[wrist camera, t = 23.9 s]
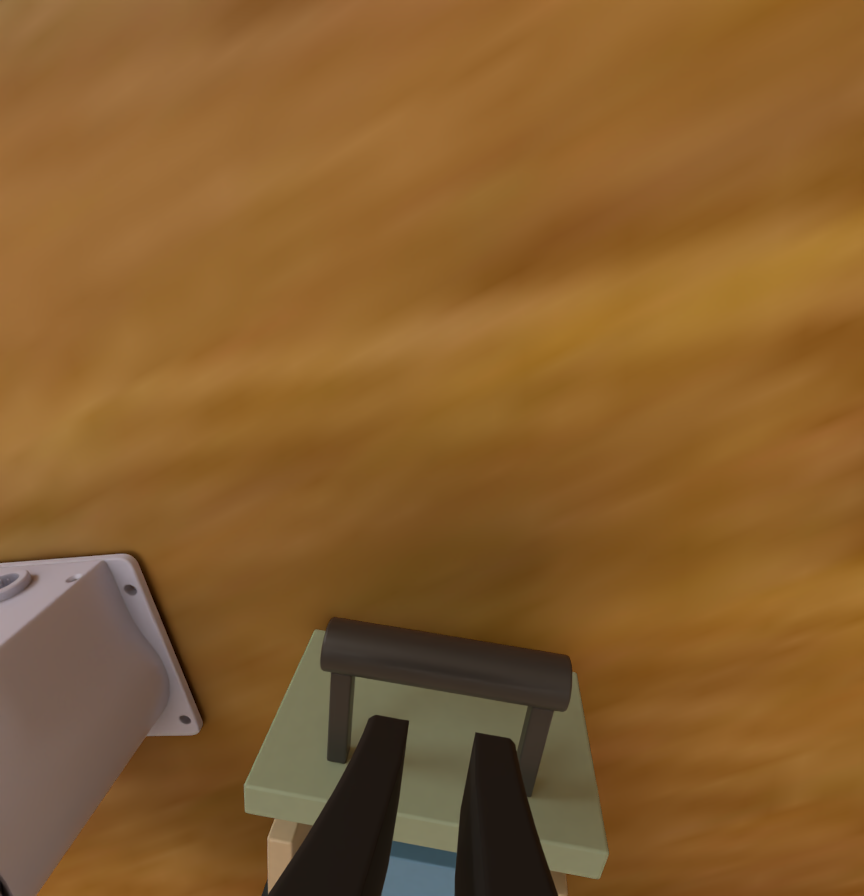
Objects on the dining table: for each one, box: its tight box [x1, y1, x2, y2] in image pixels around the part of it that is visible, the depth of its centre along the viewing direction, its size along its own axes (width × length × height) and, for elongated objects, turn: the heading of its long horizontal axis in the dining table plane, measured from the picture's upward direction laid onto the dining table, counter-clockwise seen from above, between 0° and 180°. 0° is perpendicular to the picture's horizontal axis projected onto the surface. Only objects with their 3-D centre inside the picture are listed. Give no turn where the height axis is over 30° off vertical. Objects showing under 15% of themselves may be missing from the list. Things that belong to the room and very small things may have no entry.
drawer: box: [244, 617, 609, 896], centre depth 19 cm, size 17×10×6 cm, turn 174°
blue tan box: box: [381, 841, 457, 896], centre depth 20 cm, size 5×5×5 cm
